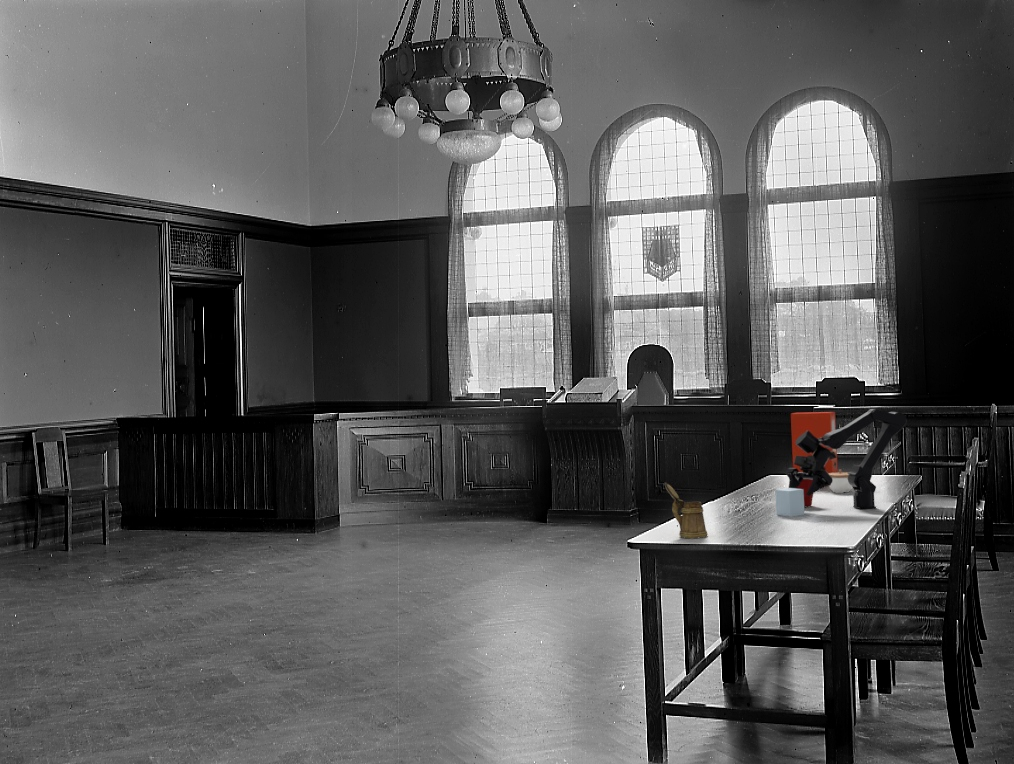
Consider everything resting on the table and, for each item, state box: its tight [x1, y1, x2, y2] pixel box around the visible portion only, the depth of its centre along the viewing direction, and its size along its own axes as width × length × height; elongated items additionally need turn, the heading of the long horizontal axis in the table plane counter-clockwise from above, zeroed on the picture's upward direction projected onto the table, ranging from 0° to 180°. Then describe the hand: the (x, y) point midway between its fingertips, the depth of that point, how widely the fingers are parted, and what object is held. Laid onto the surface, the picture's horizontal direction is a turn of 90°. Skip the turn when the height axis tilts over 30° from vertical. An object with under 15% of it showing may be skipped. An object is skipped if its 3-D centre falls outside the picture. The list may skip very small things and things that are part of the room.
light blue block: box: [774, 487, 805, 518], centre depth 395 cm, size 7×7×10 cm
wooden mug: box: [664, 482, 708, 539], centre depth 361 cm, size 9×14×18 cm, turn 69°
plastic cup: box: [796, 478, 814, 508], centre depth 417 cm, size 11×11×12 cm
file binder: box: [790, 411, 839, 487], centre depth 480 cm, size 8×17×32 cm, turn 57°
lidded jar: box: [828, 469, 853, 494], centre depth 453 cm, size 11×11×9 cm
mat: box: [791, 514, 840, 523], centre depth 383 cm, size 12×12×1 cm
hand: (797, 494), depth 397 cm, fingers open, 9 cm apart
